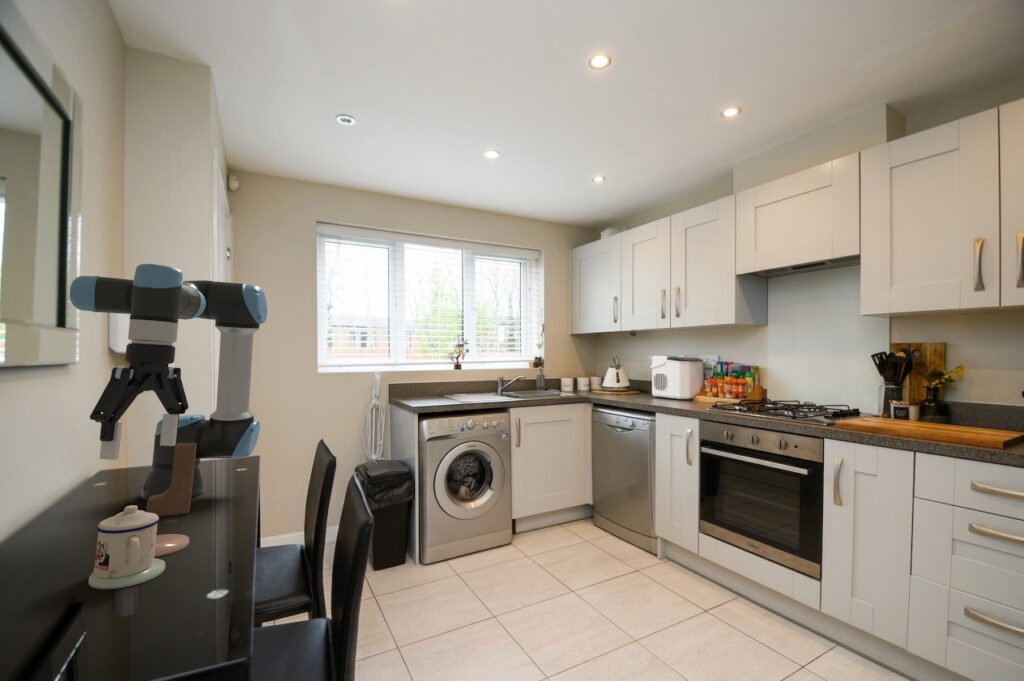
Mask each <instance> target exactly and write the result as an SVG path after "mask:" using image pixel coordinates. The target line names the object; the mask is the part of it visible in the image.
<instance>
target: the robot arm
mask: <svg viewBox="0 0 1024 681" xmlns="http://www.w3.org/2000/svg"><path fill="white" fill-rule="evenodd" d="M133 276H134V277H133V279H128V278H118V277H109V276H99V275H79V276H77V277H76V278H75V279H74V280H73V281H72V282H71V283H70V288H69V300H70V302H71V304H72V305H73V307H74V308H76V309H77V310H79V311H83V312H84V311H85V312H93V313H107V314H121V315H122V314H125V315H130V316H129V324H128V334H127V339H128V340H129V341H131V342H129V343H128V344H126V347H125V349H126V350H125V356H124V357H125V358H124V359H125V362H127V363H129V366H128V367H117V366H116V367H113V368H112V369H111V375H110V378H109V380H108V383H107V385H106V386H105V388H104V390H103V392H101V393H102V394H101V395H100V396H99V399H98V401H97V403H96V404H95V406H94V408H93V410H92V412H91V413H90V415H89V419H90V420H92V421H94V422H96V423H100V424H101V425H100V430H99V431H100V434H99V440H100V451H99V460H110V461H111V460H113V461H115V460H119V455H120V448H121V447H120V445H121V438H122V428H123V422H120V419H121V418H122V417H123V415H124V414H125V413H126V412H127V410H128V409H129V408H130V406H131V405H132V403H133V402H135V399H136V398H137V397H138V395H140V394H143V393H144V392H150V391H152V392H154V393H155V395H156V396H157V399H158V400H159V402H160V403H161V405H162V406H163V408H164V411H166V413H163V414H162V419H161V420H159V421H158V422H157V424H156V428H155V432H154V442H153V452H152V463H151V470H150V472H149V474H148V476H147V478H146V480H145V482H144V485H143V486H142V487H141V493H140V498H141V499H142V500H144V501H148V499H149V498H150V496H152V495H157V494H161V493H164V492H165V491H166V490H167V489H169V488H170V485H171V479H172V469H173V460H174V450H175V446H176V445H177V444H178V443H196V444H197V446H196V456H195V466H194V476H193V485H192V495H191V498H193V497H196V496H199V495H201V494H203V493H204V492H205V486H206V484H205V481H204V477H203V472H202V468H201V459H202V460H203V459H209V460H210V459H216V460H217V459H220V460H221V459H222V460H223V459H228V460H234V459H245V458H248V457H249V456H251V455H252V453H253V452H254V450H255V448H256V445H257V443H258V439H259V435H260V430H261V425H260V424H261V423H260V421H258V420H256V419H255V414H254V412H253V411H251V410H250V398H251V397H250V396H251V379H252V378H251V376H252V365H253V364H252V361H253V346H254V334H255V333H256V332H257V331H259V330H260V326H261V325H262V324H265V322H266V321H267V316H268V305H267V298H266V295H265V292H264V290H263V289H262V288H261V287H260V286H258V285H253V284H248V283H237V282H226V281H218V280H217V281H215V280H214V281H213V280H203V279H201V280H199V279H197V280H196V279H195V280H183V278H184V277H183V276H184V275H183V272H182V270H181V269H179V268H176V267H173V266H169V265H163V264H156V263H155V264H153V263H141V264H139V265H137V266H136V268H135V272H134V275H133ZM192 319H203V320H213V321H214V322H215V323H214V327H215V328H216V329H217V330H218V331H219V332H220V338H219V340H220V341H219V342H220V343H219V353H218V354H219V357H218V358H219V359H218V376H217V389H216V390H217V393H216V409H215V411H213V412H212V413H211V414H210V415H209V419H206V415H205V414H189V415H184V414H185V413H186V411H187V410H188V409H189V403H188V399H187V395H186V392H185V388H184V384H183V381H182V369H181V368H180V367H174V366H173V367H172V366H169V365H170V364H171V365H172V364H174V362H175V359H176V358H175V357H176V346H175V345H173V344H175V343H176V342H177V339H178V330H179V329H178V328H179V320H192Z"/></svg>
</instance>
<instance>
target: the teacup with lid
mask: <svg viewBox="0 0 1024 681" xmlns="http://www.w3.org/2000/svg"><path fill="white" fill-rule="evenodd" d="M138 508H139V507H138V505H133V504H132V505H126V506H125V507H124V508H123V511H121V512H119V513H117V514H115V515H114V516H110V517H108V518H106V519H103V520H102V521H100V522H99V524H98V525H97V527H96V531H97V540H96V550H95V557H94V565H93V567H94V568H93V572H94V575H95V576H96V577H99V578H105V579H111V578H120V577H126V576H130V575H133V574H137V573H139V572H142V571H144V570H146V569H147V568H149V567H150V566H151V565H152V564H153V561H154V558H155V557H154V552H155V542H156V536H157V532H158V523H159V522H160V517H158V515H157V514H154V513H148V512H146V511H144V510H142V509H141V510H140V509H138Z"/></svg>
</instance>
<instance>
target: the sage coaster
mask: <svg viewBox="0 0 1024 681" xmlns="http://www.w3.org/2000/svg"><path fill="white" fill-rule="evenodd" d="M165 569H166V562H165V560H163V559H161V558H157V557H154V561H153V564H152V565H151V566H150V567H149V568H147V569H146V570H144V571H142V572H139V573H137V574H133V575H130V576H126V577H120V578H111V579H105V578H99V577H96V576H95V575H94V571H93V572H92V573H91V574H90V575H89V577H88V586H89V587H91V588H94V589H97V590H98V589H99V590H113V589H121V588H127V587H133V586H136V585H139V584H142V583H145V582H148V581H151V580H152V579H153V580H154V579H155V578H156V577H158V576H160V575H161V574H163V572H164V571H165Z"/></svg>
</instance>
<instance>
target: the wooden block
mask: <svg viewBox="0 0 1024 681" xmlns="http://www.w3.org/2000/svg"><path fill="white" fill-rule="evenodd" d="M196 446H197V444H196V443H178V444H177V445H176V446H175V450H174V460H173V469H172V479H171V485H170V488H169V489H167V490H166V491H165V492H164V493H161V494H157V495H152V496H150V498H149V499H148V500H146V501H147V502H146V510H145V512H148V513H154V514H157V515H158V517H159V518H160V517H168V516H169V517H170V516H177V515H187V514H189V513H190V510H191V504H192V497H191V495H192V485H193V476H194V466H195V456H196Z"/></svg>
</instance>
